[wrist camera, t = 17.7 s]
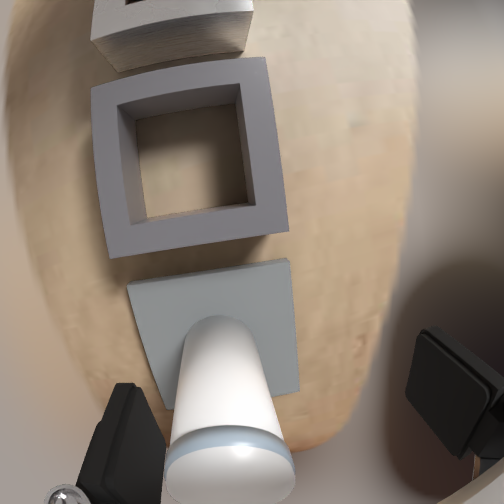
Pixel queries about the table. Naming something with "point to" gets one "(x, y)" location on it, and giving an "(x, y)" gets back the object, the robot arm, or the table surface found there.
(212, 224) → the frame
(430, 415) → the robot arm
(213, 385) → the cylinder
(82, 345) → the table surface
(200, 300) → the slate mat
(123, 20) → the frame
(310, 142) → the table surface
